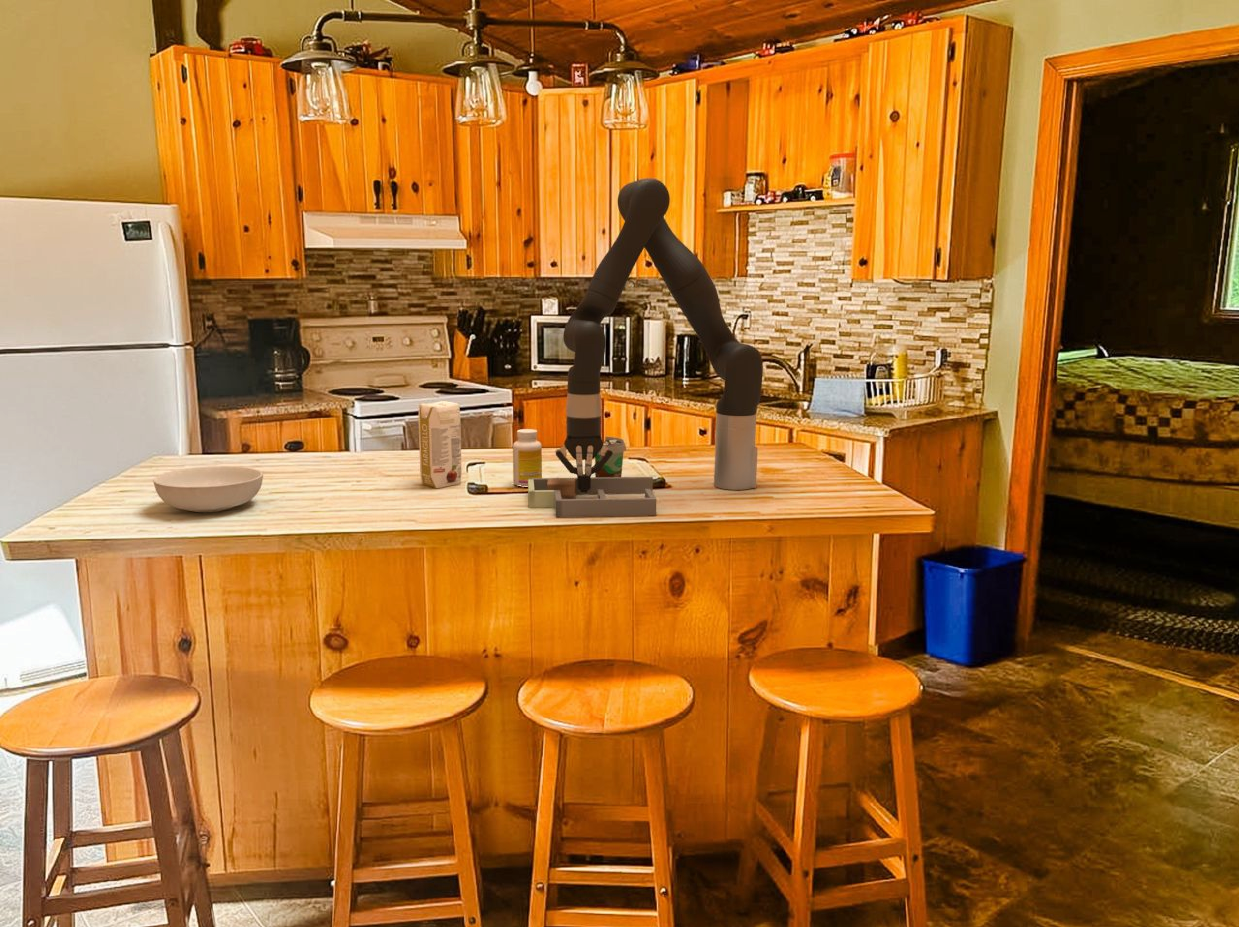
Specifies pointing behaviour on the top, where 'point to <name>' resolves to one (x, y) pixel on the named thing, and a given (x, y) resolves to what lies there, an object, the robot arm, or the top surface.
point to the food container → (612, 458)
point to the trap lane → (601, 505)
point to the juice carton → (440, 444)
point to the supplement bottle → (526, 457)
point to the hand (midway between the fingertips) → (583, 491)
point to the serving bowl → (208, 487)
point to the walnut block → (563, 486)
